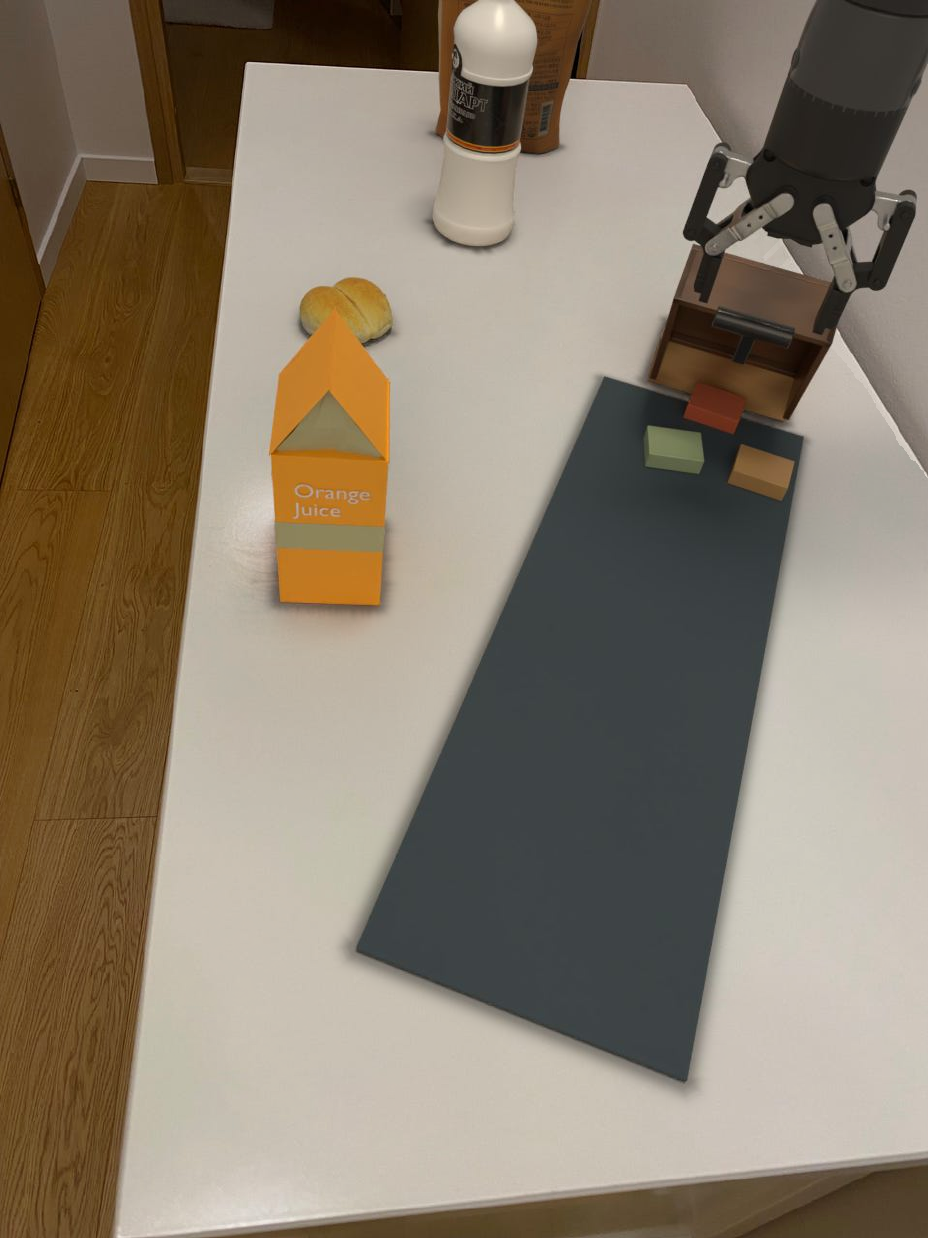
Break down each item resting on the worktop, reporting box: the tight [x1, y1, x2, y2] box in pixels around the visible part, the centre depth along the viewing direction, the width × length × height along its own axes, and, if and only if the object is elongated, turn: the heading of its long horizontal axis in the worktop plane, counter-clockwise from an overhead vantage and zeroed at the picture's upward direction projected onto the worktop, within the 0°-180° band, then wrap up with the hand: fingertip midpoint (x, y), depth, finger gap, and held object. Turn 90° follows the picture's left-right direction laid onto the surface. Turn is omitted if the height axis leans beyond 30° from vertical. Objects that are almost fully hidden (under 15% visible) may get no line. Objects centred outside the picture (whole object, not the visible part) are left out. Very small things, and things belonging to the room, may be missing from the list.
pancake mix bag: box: [434, 0, 593, 155], centre depth 113 cm, size 7×19×28 cm, turn 90°
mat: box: [355, 376, 805, 1082], centre depth 73 cm, size 20×61×1 cm, turn 161°
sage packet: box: [643, 425, 704, 474], centre depth 86 cm, size 5×4×2 cm
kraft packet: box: [727, 444, 794, 501], centre depth 85 cm, size 5×4×2 cm
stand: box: [646, 320, 794, 422], centre depth 95 cm, size 14×12×5 cm
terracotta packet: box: [683, 382, 747, 434], centre depth 91 cm, size 5×4×2 cm
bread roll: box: [299, 276, 394, 345], centre depth 93 cm, size 8×9×4 cm
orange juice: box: [268, 307, 391, 606], centre depth 67 cm, size 8×9×20 cm
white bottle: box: [432, 0, 537, 247], centre depth 98 cm, size 9×9×30 cm
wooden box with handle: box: [650, 243, 840, 421], centre depth 80 cm, size 13×15×10 cm
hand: (760, 312), depth 70 cm, fingers open, 8 cm apart
